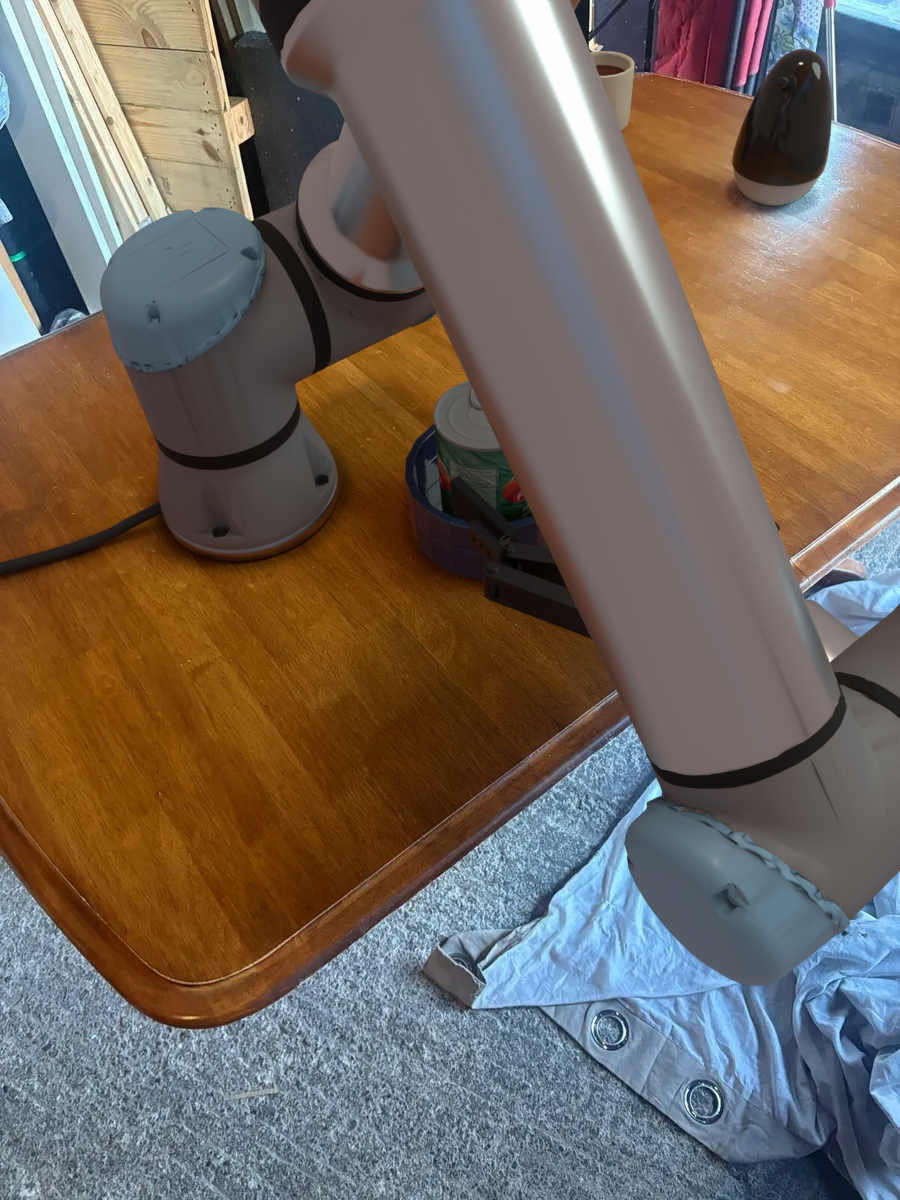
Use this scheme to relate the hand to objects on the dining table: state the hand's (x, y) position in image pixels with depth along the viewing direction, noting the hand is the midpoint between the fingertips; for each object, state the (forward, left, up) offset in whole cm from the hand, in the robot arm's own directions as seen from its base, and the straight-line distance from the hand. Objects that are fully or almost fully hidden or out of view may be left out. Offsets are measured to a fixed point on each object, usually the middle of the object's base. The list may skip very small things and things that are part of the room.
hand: (533, 449), depth 63 cm
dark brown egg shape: (+56, +26, -11) cm, 63 cm away
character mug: (+43, +42, -11) cm, 61 cm away
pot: (0, +5, -11) cm, 12 cm away
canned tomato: (0, +5, -11) cm, 12 cm away
